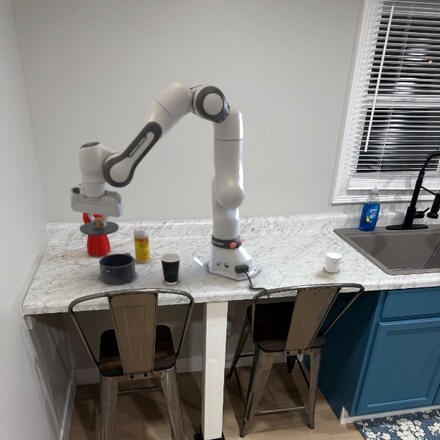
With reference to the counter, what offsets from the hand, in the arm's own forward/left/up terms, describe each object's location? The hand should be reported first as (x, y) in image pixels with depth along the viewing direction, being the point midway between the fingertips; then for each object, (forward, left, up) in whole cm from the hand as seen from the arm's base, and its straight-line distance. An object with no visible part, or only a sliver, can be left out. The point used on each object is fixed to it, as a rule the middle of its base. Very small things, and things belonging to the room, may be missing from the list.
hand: (99, 224), depth 155 cm
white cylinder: (-65, -72, -22) cm, 99 cm away
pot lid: (0, 0, -2) cm, 2 cm away
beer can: (0, -20, -22) cm, 30 cm away
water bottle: (+21, -12, -22) cm, 33 cm away
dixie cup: (-24, -15, -22) cm, 36 cm away
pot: (-5, -3, -22) cm, 22 cm away
